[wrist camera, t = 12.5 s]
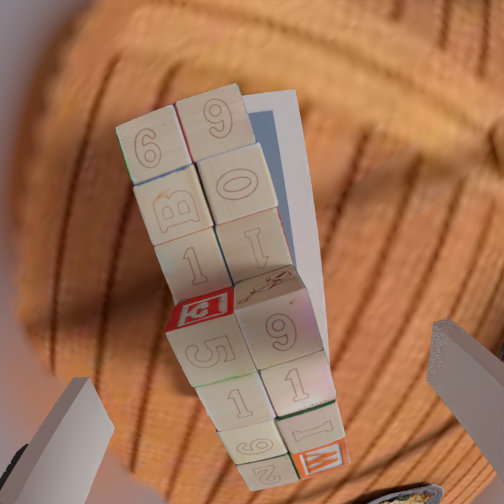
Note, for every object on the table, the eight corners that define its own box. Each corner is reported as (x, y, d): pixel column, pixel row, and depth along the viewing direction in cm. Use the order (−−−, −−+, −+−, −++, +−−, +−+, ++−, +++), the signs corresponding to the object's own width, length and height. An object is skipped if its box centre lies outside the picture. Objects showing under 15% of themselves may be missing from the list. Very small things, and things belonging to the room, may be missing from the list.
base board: (147, 123, 25) (137, 116, 22) (288, 98, 25) (295, 88, 22) (209, 397, 31) (207, 417, 28) (324, 378, 31) (331, 396, 28)
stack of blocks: (158, 141, 22) (86, 113, 10) (239, 115, 22) (243, 55, 10) (244, 384, 27) (250, 495, 15) (312, 364, 27) (352, 469, 15)
